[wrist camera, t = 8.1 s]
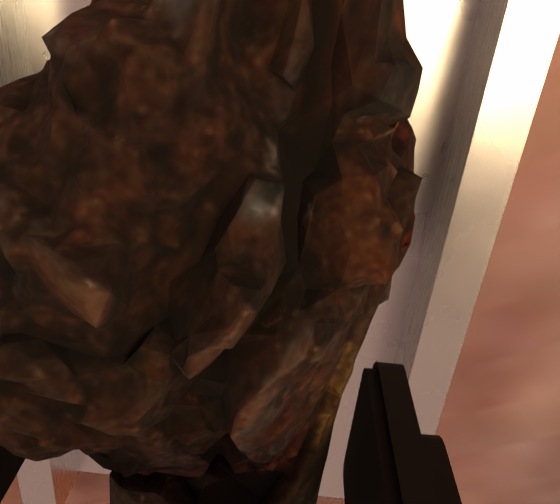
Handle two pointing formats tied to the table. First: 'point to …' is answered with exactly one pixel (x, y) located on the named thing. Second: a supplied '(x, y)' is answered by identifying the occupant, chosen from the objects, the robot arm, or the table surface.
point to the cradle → (429, 201)
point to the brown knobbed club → (201, 237)
